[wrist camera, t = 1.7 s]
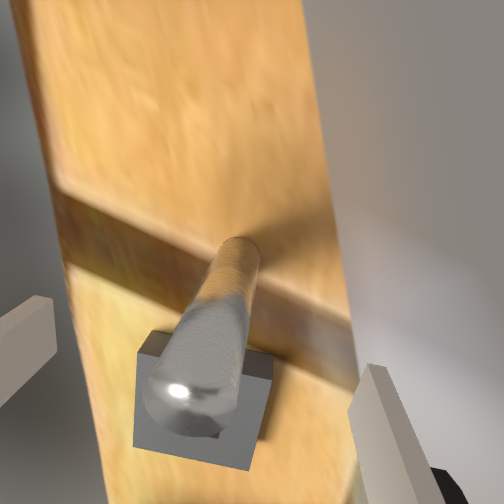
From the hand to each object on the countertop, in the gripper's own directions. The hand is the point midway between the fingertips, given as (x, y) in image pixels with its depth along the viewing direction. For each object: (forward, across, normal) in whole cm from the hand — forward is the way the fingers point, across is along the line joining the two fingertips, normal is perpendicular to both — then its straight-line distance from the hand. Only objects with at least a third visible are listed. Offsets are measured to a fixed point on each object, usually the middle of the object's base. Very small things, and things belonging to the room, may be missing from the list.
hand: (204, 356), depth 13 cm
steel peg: (+12, 0, +1) cm, 12 cm away
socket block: (+12, +1, +15) cm, 19 cm away
